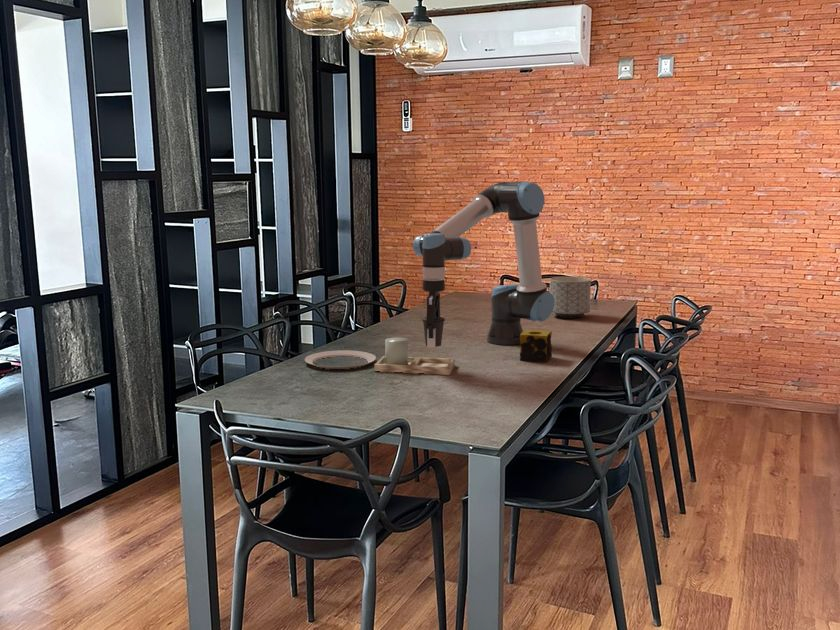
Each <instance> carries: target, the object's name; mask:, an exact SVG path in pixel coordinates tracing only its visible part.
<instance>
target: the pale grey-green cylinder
mask: <svg viewBox="0 0 840 630" xmlns="http://www.w3.org/2000/svg"><path fill="white" fill-rule="evenodd" d="M384 347H385V348H384V350H385V351H384V352H385V353H384V356H385V364H390V365H408V357H409V339H408V338H406V337H390V338H389V337H388V338H385V340H384Z"/></svg>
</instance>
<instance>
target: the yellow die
mask: <svg viewBox="0 0 840 630" xmlns="http://www.w3.org/2000/svg"><path fill="white" fill-rule="evenodd" d="M552 332H553V331H552V330H545V329H544V330H543V329H540V330H539V329H525V330H523V333H521V334H520V344H519V345H520V349H519V357H520V358H519V361H521V362H532V363H534V362H535V363H548V362H549V360H551V358H552V356H553V354H552V352H553V350H552V349H553V348H552V343H551V342H552V340H551V338H552V334H553V333H552Z"/></svg>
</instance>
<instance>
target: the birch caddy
mask: <svg viewBox="0 0 840 630" xmlns="http://www.w3.org/2000/svg"><path fill="white" fill-rule="evenodd" d="M455 363H456V360H455V358H443V357H441V358H440V357H419V356H418V357H415V356H413V357H412V356H408V365H390V364H385V355H383V356H382V357H380V358H379V359H378V360H377V362H375V363H374V364H373V365H374V371H380V372H379V373H394V372H403V373H402V374H418V373H424V374H425V375H443V376H445V375H446V376H448V375H449V376H450V375H451V374H452V371H453V369H454V368H455V366H456V365H455ZM424 374H423V375H424Z"/></svg>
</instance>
